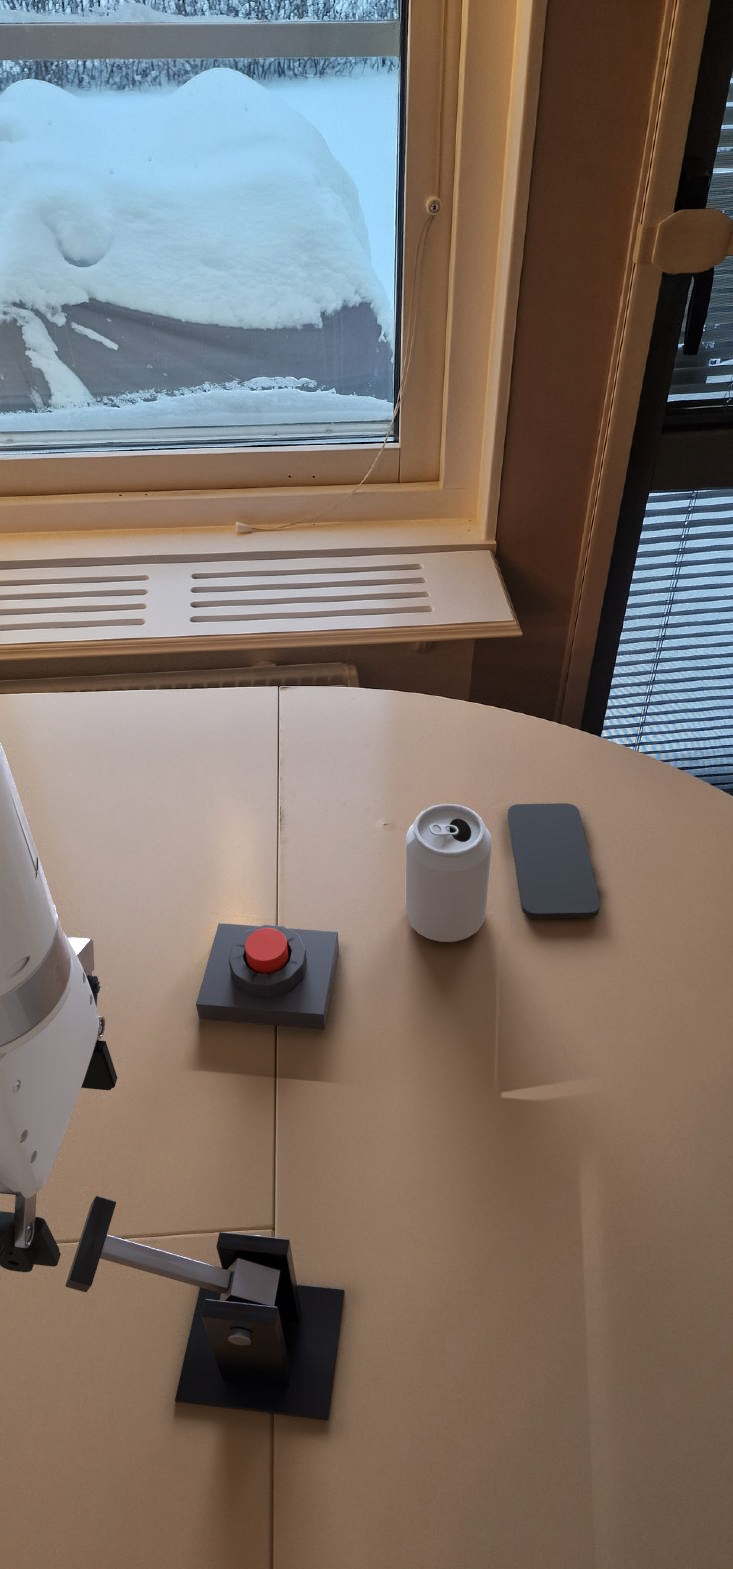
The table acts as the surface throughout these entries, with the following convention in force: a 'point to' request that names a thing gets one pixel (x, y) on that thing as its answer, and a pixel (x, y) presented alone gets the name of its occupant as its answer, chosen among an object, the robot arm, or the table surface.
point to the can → (447, 872)
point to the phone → (552, 861)
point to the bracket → (263, 1340)
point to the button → (266, 950)
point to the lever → (165, 1263)
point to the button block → (269, 979)
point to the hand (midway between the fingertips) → (61, 1164)
